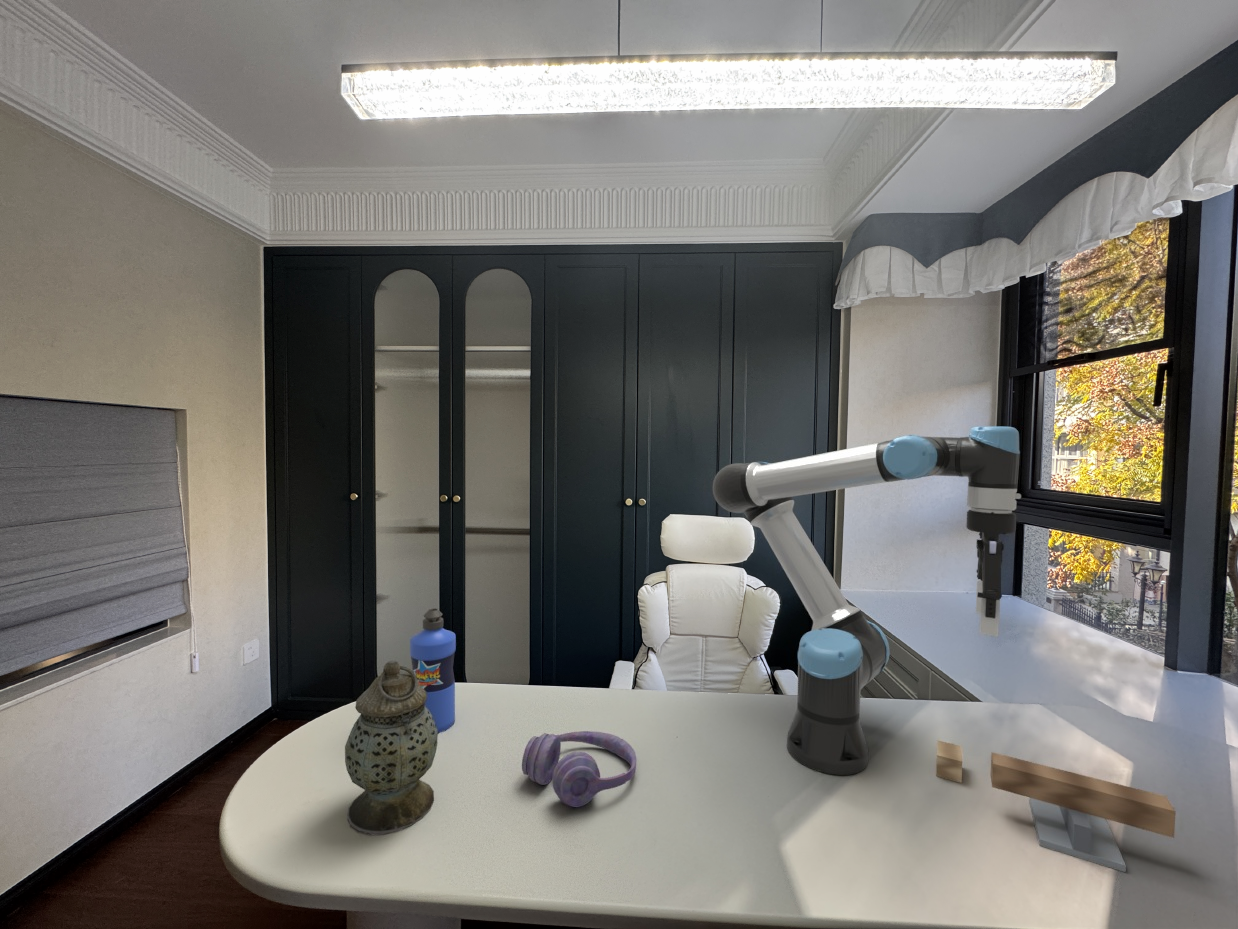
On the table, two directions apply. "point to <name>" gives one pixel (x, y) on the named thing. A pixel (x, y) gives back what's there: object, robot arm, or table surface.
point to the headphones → (575, 765)
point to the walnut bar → (1084, 794)
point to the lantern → (391, 753)
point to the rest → (949, 761)
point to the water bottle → (435, 668)
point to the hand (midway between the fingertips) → (986, 624)
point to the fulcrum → (1076, 834)
